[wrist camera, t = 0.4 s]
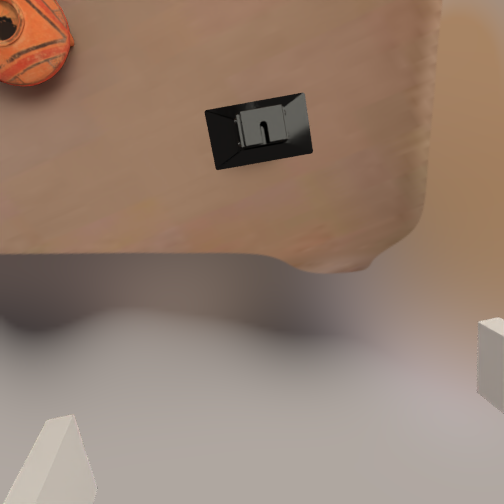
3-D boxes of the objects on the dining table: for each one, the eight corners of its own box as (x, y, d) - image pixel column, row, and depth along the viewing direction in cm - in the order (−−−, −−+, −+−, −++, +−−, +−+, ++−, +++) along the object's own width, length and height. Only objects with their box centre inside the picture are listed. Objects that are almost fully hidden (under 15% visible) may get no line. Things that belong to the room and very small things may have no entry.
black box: (202, 181, 37) (199, 180, 32) (186, 103, 36) (181, 91, 31) (327, 158, 37) (341, 154, 33) (316, 80, 36) (329, 65, 32)
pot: (81, 108, 34) (24, 86, 28) (5, 86, 35) (-67, 59, 29) (100, 14, 33) (45, -33, 26) (21, -6, 34) (-51, -56, 27)
